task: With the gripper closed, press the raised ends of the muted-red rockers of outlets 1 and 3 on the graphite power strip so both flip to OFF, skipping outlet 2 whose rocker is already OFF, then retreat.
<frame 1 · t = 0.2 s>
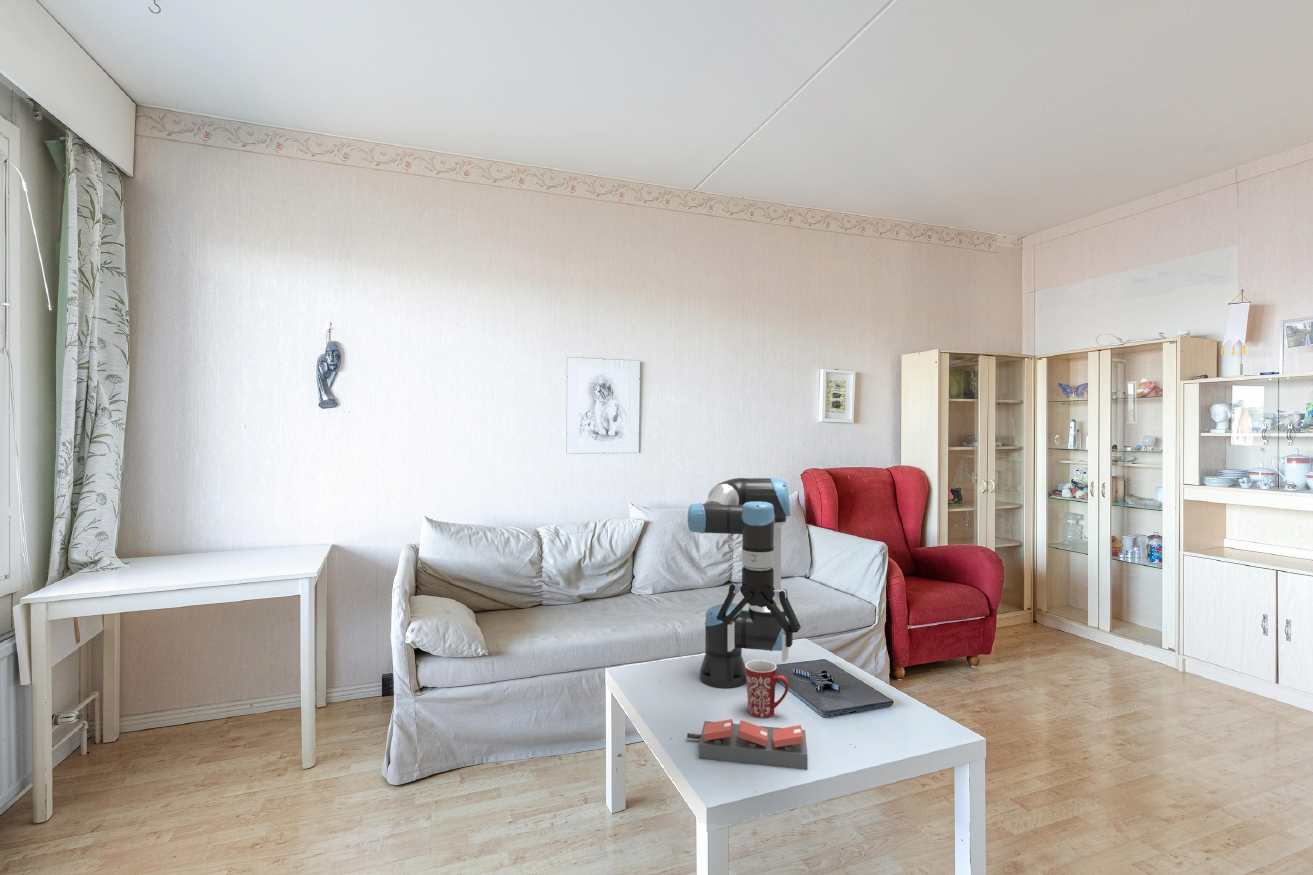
hand: (757, 654, 150), 27 cm above the table, fingers open, 13 cm apart
power strip: (753, 750, 157), on the table
mug: (766, 714, 176), on the table
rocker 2: (752, 732, 154), point 6 cm above the table, hinge at -15.0°
rocker 3: (787, 735, 153), point 6 cm above the table, hinge at 15.0°
rocker 1: (718, 729, 156), point 6 cm above the table, hinge at 15.0°
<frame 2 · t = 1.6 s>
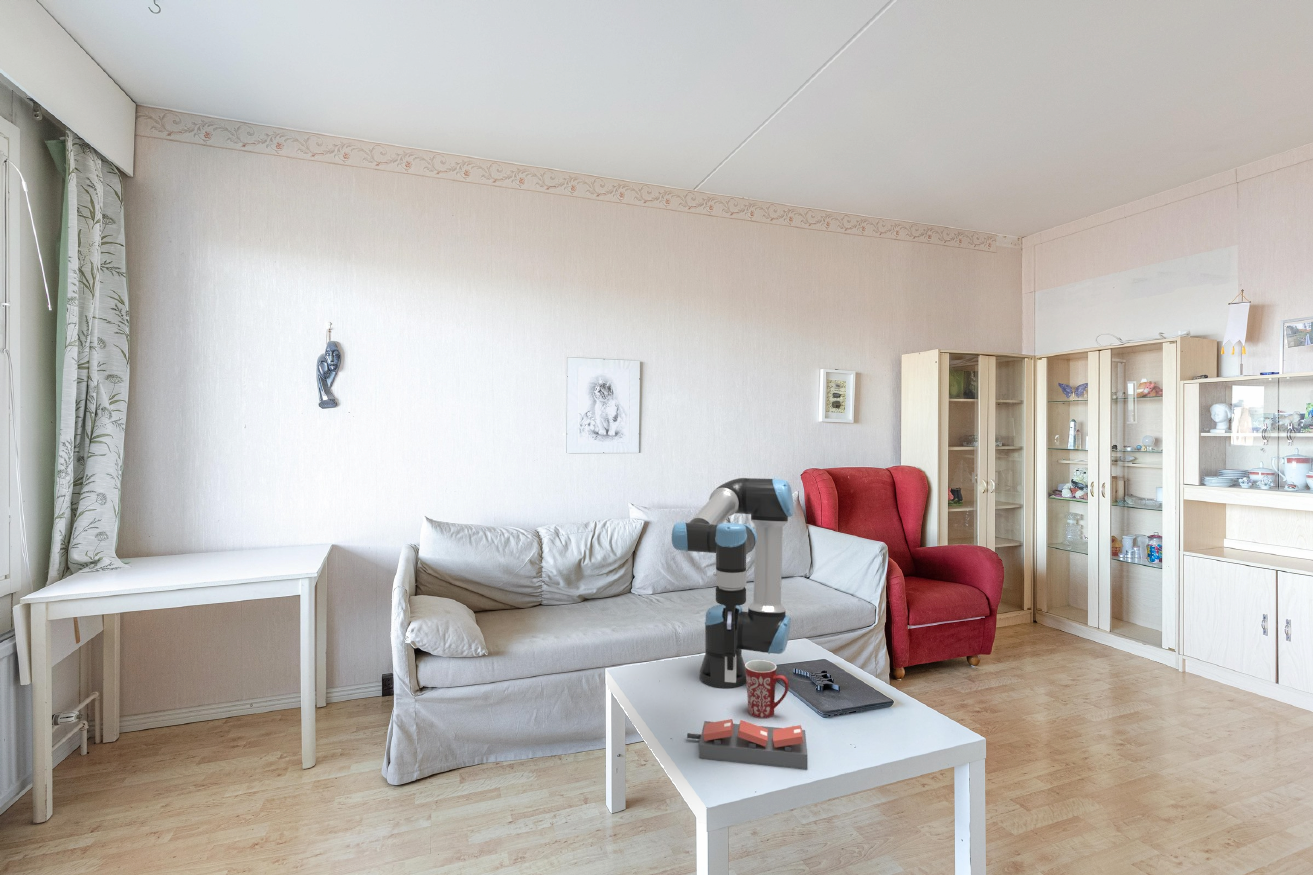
hand: (730, 680, 155), 18 cm above the table, fingers closed
nothing on the table moved.
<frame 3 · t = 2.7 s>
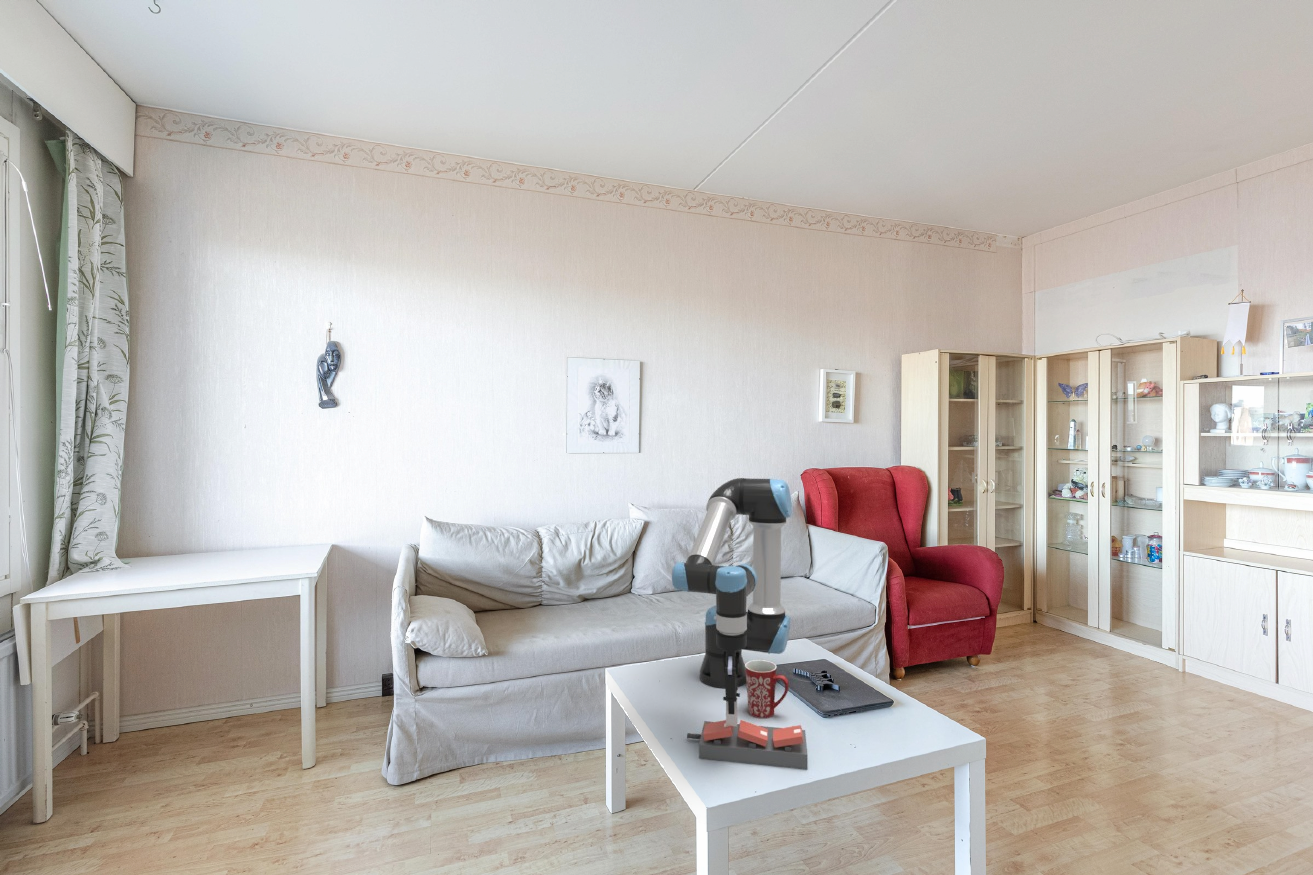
hand: (731, 724, 155), 7 cm above the table, fingers closed
rocker 1: (718, 729, 156), point 6 cm above the table, hinge at 14.8°, touching gripper
everything else where it was.
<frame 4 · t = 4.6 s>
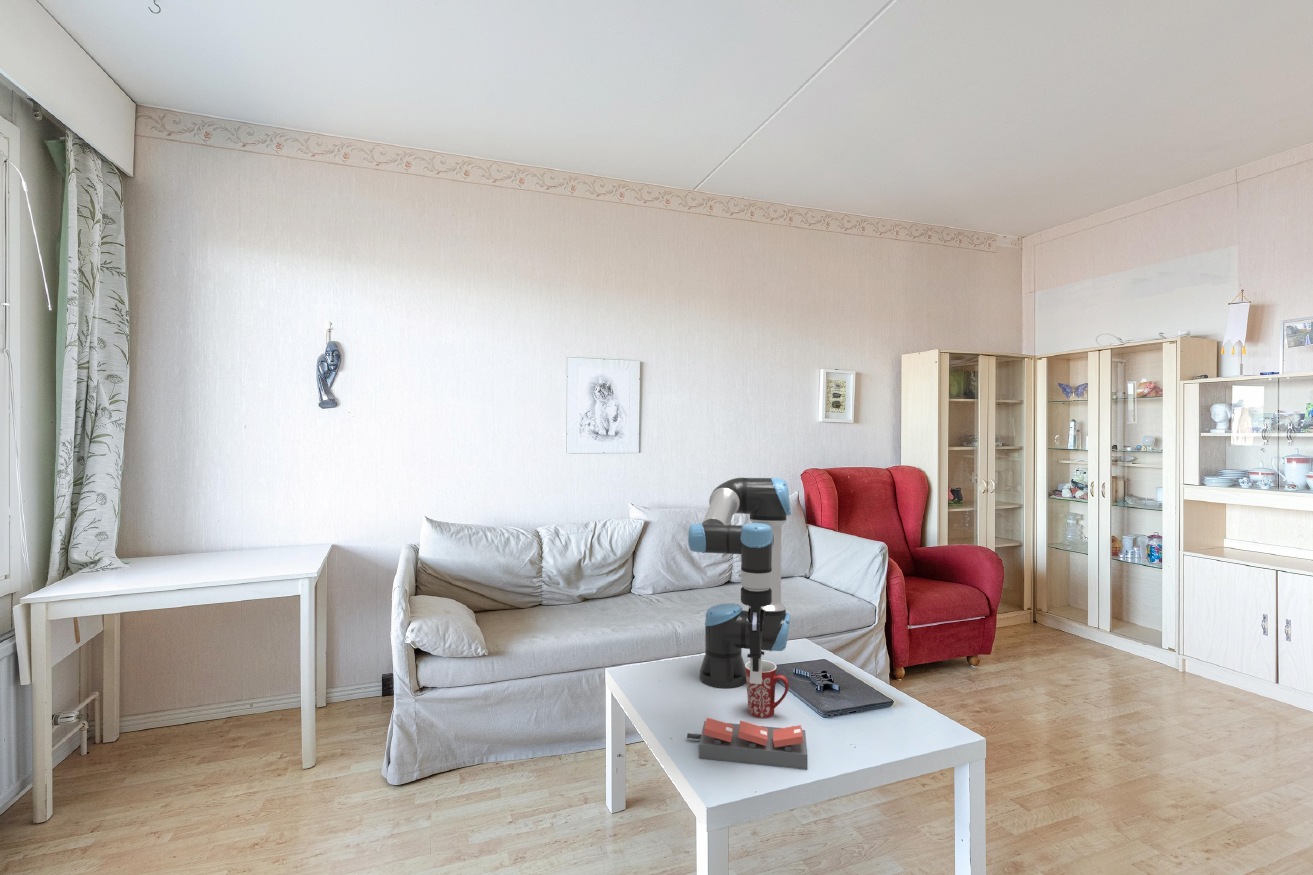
hand: (755, 682, 153), 19 cm above the table, fingers closed
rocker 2: (752, 732, 154), point 6 cm above the table, hinge at -12.1°
rocker 1: (718, 729, 156), point 6 cm above the table, hinge at -11.4°
everything else where it was.
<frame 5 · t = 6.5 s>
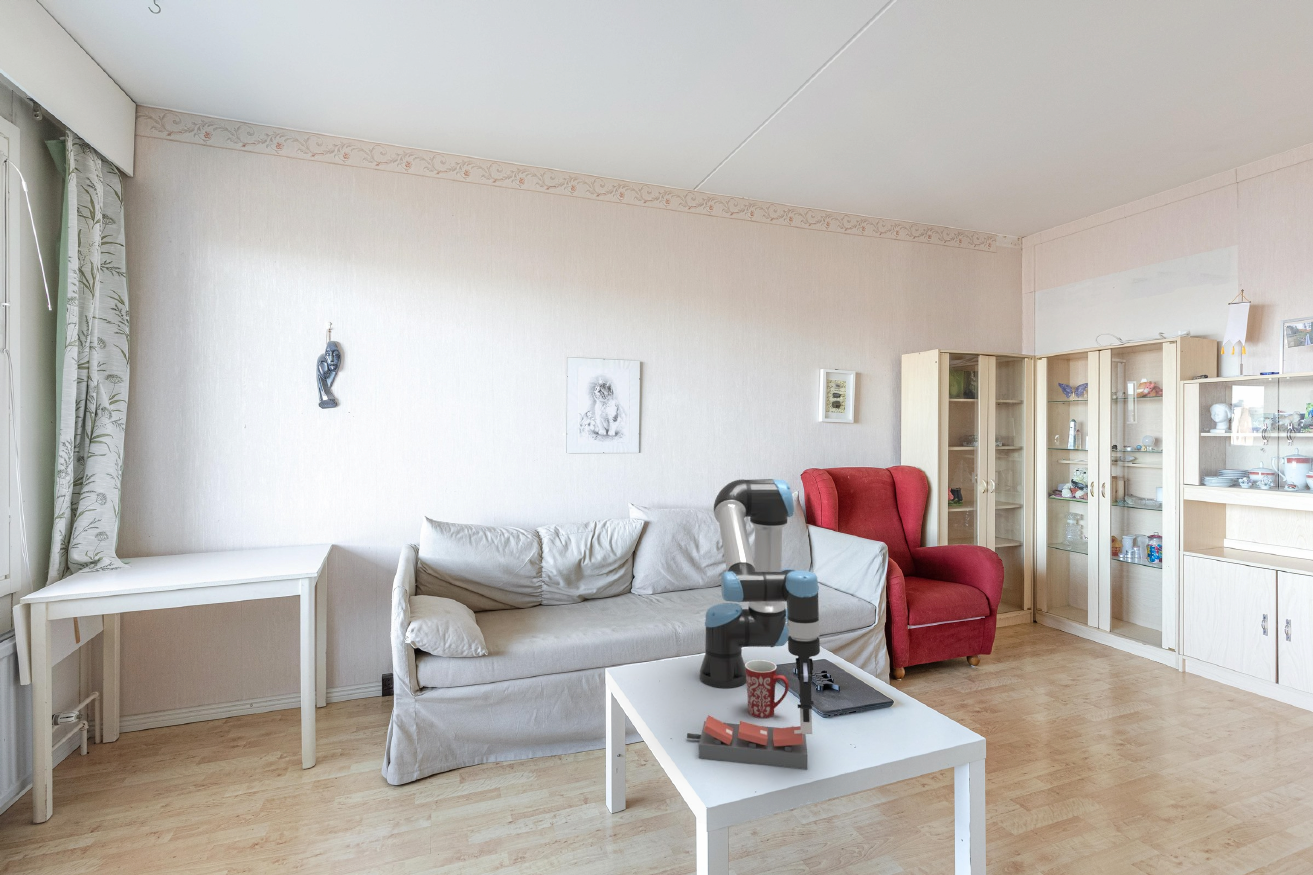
hand: (806, 732, 151), 7 cm above the table, fingers closed
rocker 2: (752, 732, 154), point 6 cm above the table, hinge at -10.3°
rocker 3: (787, 735, 153), point 6 cm above the table, hinge at 10.5°, touching gripper
rocker 1: (718, 729, 156), point 6 cm above the table, hinge at -24.4°, touching power strip
everything else where it was.
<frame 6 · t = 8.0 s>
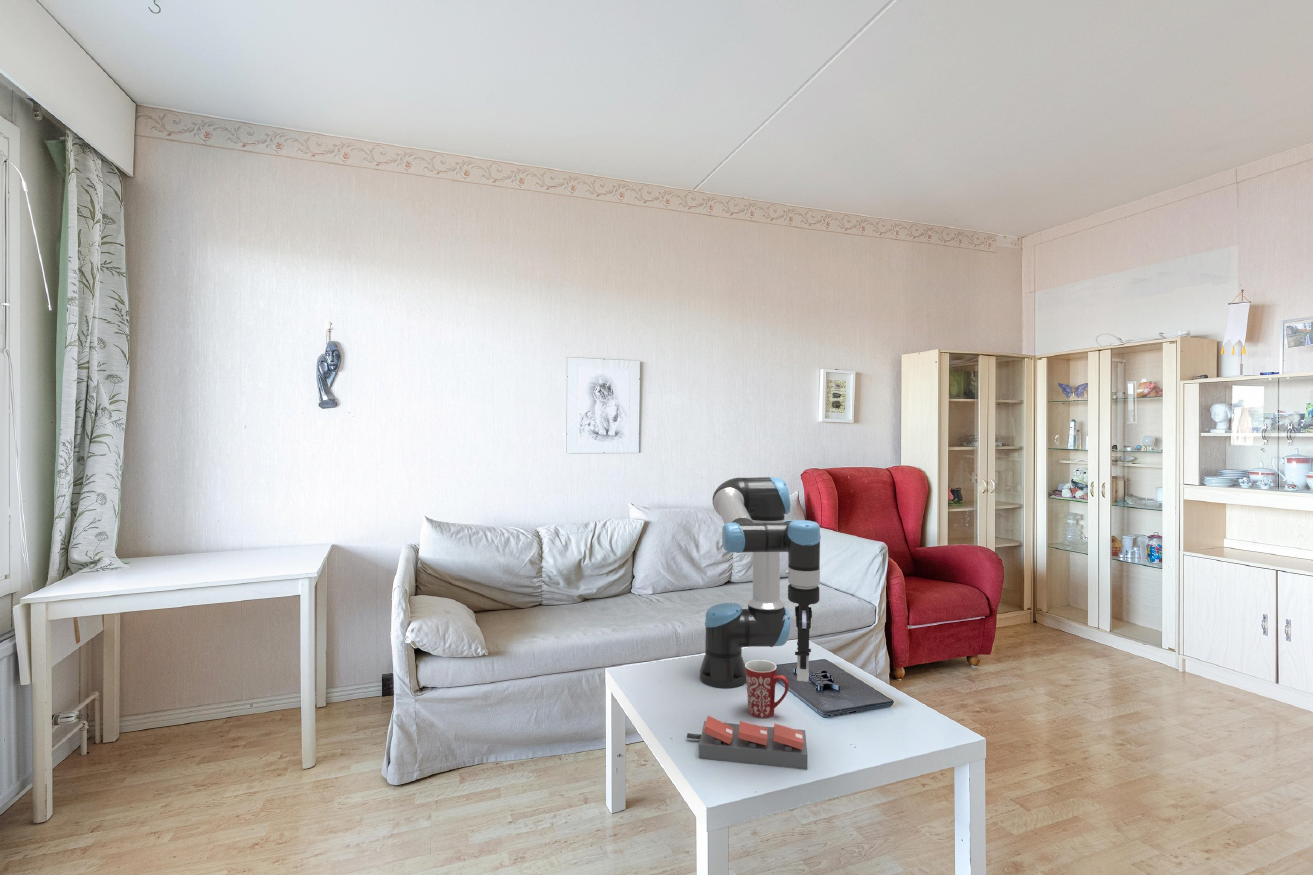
hand: (802, 679, 153), 19 cm above the table, fingers closed
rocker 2: (752, 732, 154), point 6 cm above the table, hinge at -9.5°
rocker 3: (788, 735, 153), point 6 cm above the table, hinge at -12.5°
rocker 1: (718, 729, 156), point 6 cm above the table, hinge at -20.8°
everything else where it was.
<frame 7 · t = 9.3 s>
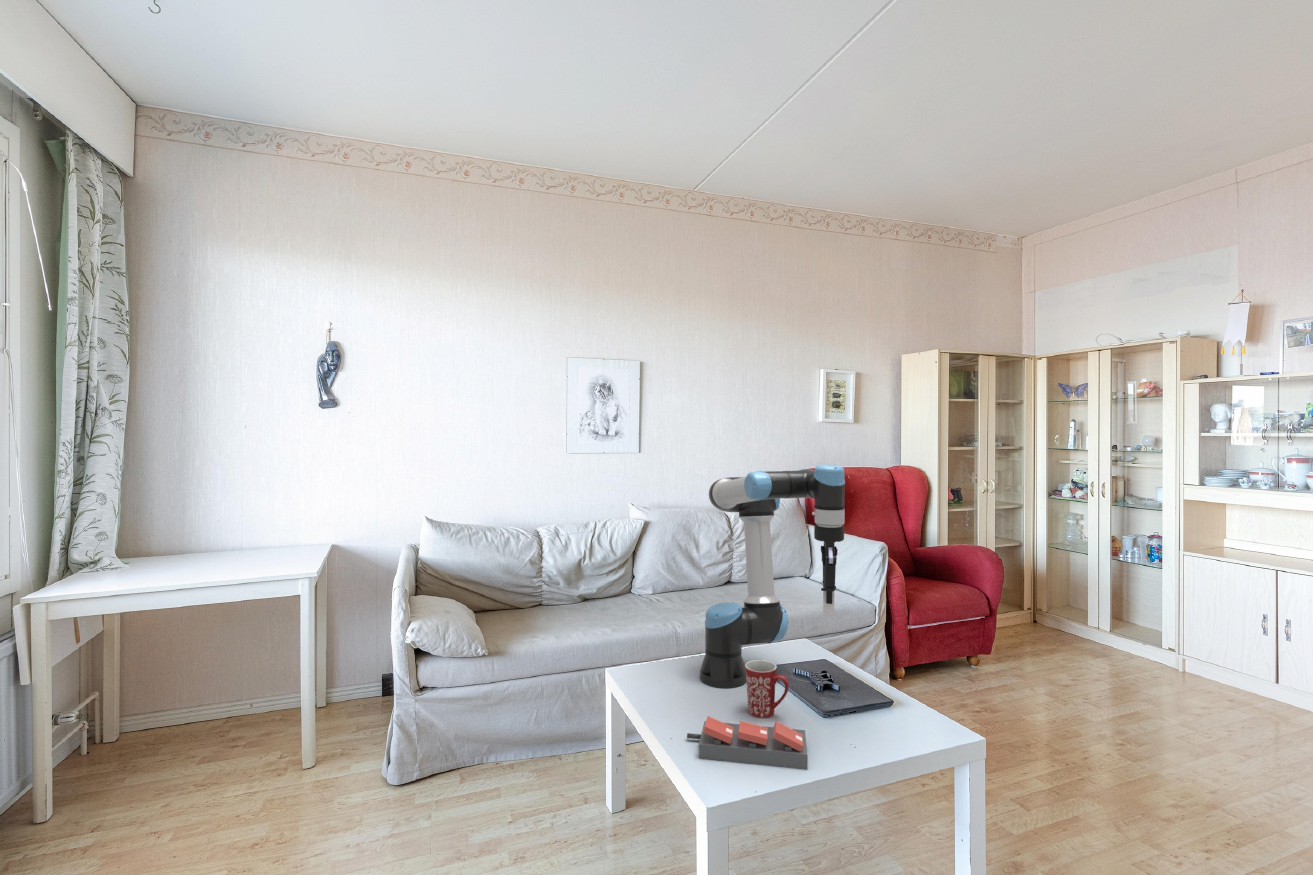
hand: (828, 614, 163), 32 cm above the table, fingers closed
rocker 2: (752, 732, 154), point 6 cm above the table, hinge at -9.2°
rocker 3: (788, 735, 153), point 6 cm above the table, hinge at -23.5°, touching power strip
rocker 1: (718, 729, 156), point 6 cm above the table, hinge at -18.8°
everything else where it was.
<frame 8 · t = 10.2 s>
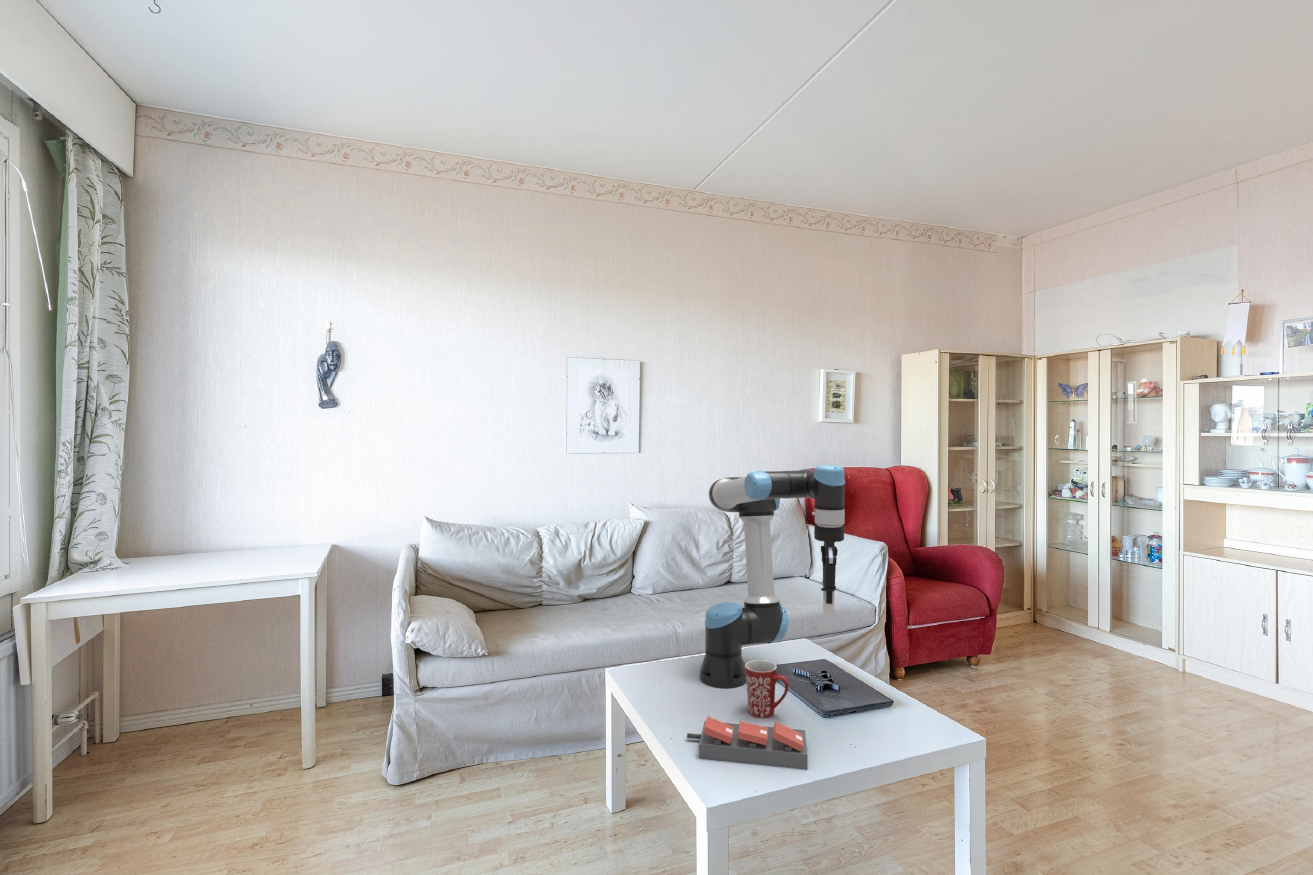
hand: (828, 614, 163), 32 cm above the table, fingers closed
rocker 3: (788, 735, 153), point 6 cm above the table, hinge at -21.8°
rocker 1: (718, 729, 156), point 6 cm above the table, hinge at -17.9°
everything else where it was.
at the end: rocker 1 at -18° (first picture: +15°); rocker 3 at -22° (first picture: +15°); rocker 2 at -9° (first picture: -15°) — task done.
